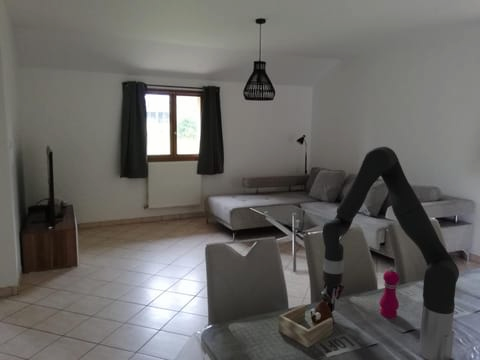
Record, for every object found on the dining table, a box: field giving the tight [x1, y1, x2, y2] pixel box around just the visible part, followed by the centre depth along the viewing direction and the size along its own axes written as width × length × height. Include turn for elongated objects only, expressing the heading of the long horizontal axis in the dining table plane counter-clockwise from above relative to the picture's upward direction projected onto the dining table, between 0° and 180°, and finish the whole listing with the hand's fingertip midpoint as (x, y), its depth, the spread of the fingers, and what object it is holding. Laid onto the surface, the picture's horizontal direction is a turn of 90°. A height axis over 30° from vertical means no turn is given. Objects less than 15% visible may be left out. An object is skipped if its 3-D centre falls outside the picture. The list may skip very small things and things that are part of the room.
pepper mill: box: [379, 267, 400, 319], centre depth 158 cm, size 7×7×20 cm
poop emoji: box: [309, 300, 335, 326], centre depth 152 cm, size 10×8×9 cm
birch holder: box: [278, 304, 334, 348], centre depth 145 cm, size 14×14×6 cm
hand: (330, 310), depth 156 cm, fingers closed
